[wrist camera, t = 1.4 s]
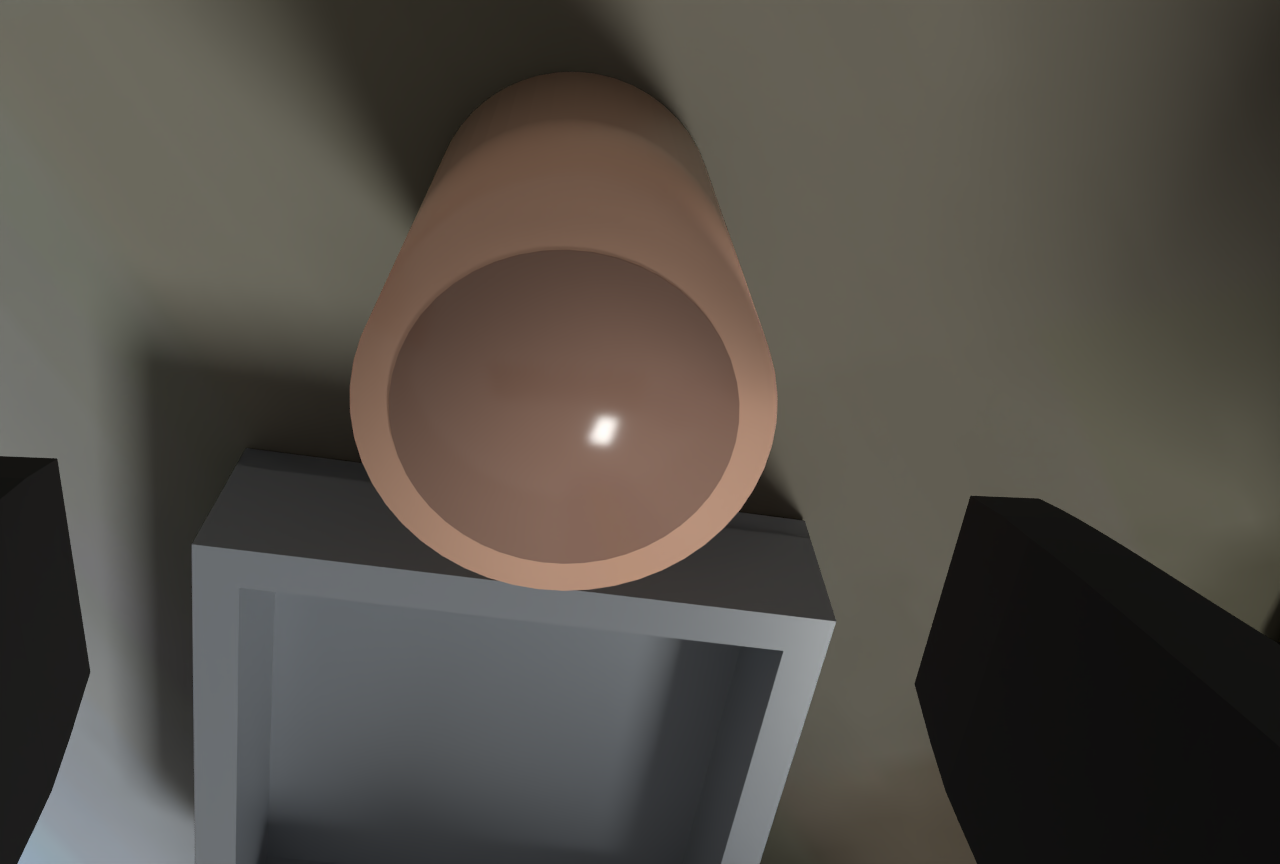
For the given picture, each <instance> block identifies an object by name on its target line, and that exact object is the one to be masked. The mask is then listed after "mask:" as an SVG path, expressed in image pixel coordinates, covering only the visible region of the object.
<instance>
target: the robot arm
mask: <svg viewBox="0 0 1280 864" xmlns="http://www.w3.org/2000/svg"><path fill="white" fill-rule="evenodd" d="M89 674H90V667H89V661H88V654H87V648H86V641H85V635H84V628H83V622H82V616H81V609H80V603H79V596H78V590H77V583H76V577H75V570H74V564H73V557H72V551H71V545H70V538H69V532H68V525H67V519H66V512H65V506H64V499H63V493H62V487H61V480H60V474H59V467H58V461H57V459H54V458H29V457H5V456H0V864H17V863H18V861H19V859H20V857H21V855H22V853H23V851H24V848H25V846H26V844H27V842H28V840H29V838H30V836H31V834H32V832H33V830H34V828H35V825H36V823H37V821H38V819H39V817H40V815H41V813H42V810H43V808H44V806H45V804H46V802H47V800H48V798H49V795H50V793H51V791H52V788H53V785H54V782H55V780H56V777H57V774H58V771H59V768H60V765H61V762H62V759H63V756H64V753H65V750H66V747H67V744H68V742H69V739H70V736H71V732H72V729H73V726H74V723H75V719H76V716H77V713H78V710H79V707H80V703H81V700H82V697H83V694H84V690H85V687H86V684H87V681H88V678H89ZM915 687H916V691H917V694H918V698H919V702H920V705H921V709H922V713H923V717H924V720H925V724H926V728H927V731H928V735H929V739H930V742H931V745H932V749H933V752H934V755H935V758H936V762H937V765H938V768H939V771H940V774H941V778H942V781H943V784H944V787H945V791H946V793H947V795H948V798H949V800H950V802H951V805H952V807H953V809H954V812H955V814H956V816H957V819H958V821H959V823H960V826H961V828H962V830H963V832H964V835H965V837H966V839H967V841H968V844H969V846H970V848H971V851H972V853H973V855H974V857H975V860H976V862H977V864H1280V644H1278V643H1276V642H1275V641H1273V640H1271V639H1270V638H1268V637H1267V636H1265V635H1263V634H1262V633H1260V632H1259V631H1257V630H1255V629H1254V628H1252V627H1251V626H1249V625H1247V624H1246V623H1244V622H1243V621H1241V620H1239V619H1238V618H1236V617H1235V616H1233V615H1231V614H1230V613H1228V612H1227V611H1225V610H1224V609H1222V608H1220V607H1219V606H1217V605H1216V604H1214V603H1212V602H1211V601H1209V600H1208V599H1206V598H1205V597H1203V596H1201V595H1200V594H1198V593H1197V592H1195V591H1194V590H1192V589H1190V588H1189V587H1187V586H1186V585H1184V584H1183V583H1181V582H1179V581H1178V580H1176V579H1175V578H1173V577H1172V576H1170V575H1168V574H1167V573H1165V572H1164V571H1162V570H1161V569H1159V568H1157V567H1156V566H1154V565H1153V564H1151V563H1150V562H1148V561H1146V560H1145V559H1143V558H1142V557H1140V556H1138V555H1137V554H1135V553H1134V552H1132V551H1130V550H1129V549H1127V548H1126V547H1124V546H1122V545H1121V544H1119V543H1118V542H1116V541H1114V540H1113V539H1111V538H1109V537H1108V536H1106V535H1104V534H1103V533H1101V532H1100V531H1098V530H1096V529H1095V528H1093V527H1091V526H1089V525H1088V524H1086V523H1084V522H1083V521H1081V520H1079V519H1077V518H1076V517H1074V516H1072V515H1070V514H1068V513H1066V512H1065V511H1063V510H1061V509H1059V508H1057V507H1055V506H1053V505H1051V504H1049V503H1047V502H1045V501H1043V500H1041V499H1035V498H1010V497H986V496H970V499H969V503H968V506H967V509H966V513H965V516H964V520H963V523H962V526H961V530H960V533H959V536H958V540H957V543H956V546H955V550H954V553H953V557H952V560H951V563H950V567H949V570H948V573H947V577H946V580H945V583H944V587H943V590H942V594H941V597H940V600H939V604H938V607H937V610H936V614H935V617H934V620H933V624H932V627H931V631H930V634H929V637H928V641H927V644H926V647H925V651H924V654H923V657H922V661H921V664H920V668H919V671H918V674H917V678H916V681H915Z"/></svg>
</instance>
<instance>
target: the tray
mask: <svg viewBox="0 0 1280 864" xmlns="http://www.w3.org/2000/svg"><path fill="white" fill-rule="evenodd" d="M192 624H193V719H194V814H195V864H760V861H761V858H762V854H763V851H764V848H765V845H766V842H767V839H768V835H769V832H770V829H771V826H772V823H773V820H774V817H775V813H776V810H777V807H778V804H779V801H780V798H781V794H782V791H783V788H784V785H785V782H786V779H787V775H788V772H789V769H790V766H791V763H792V760H793V756H794V753H795V750H796V747H797V744H798V741H799V737H800V734H801V731H802V728H803V725H804V722H805V718H806V715H807V712H808V709H809V706H810V703H811V699H812V696H813V693H814V690H815V687H816V684H817V680H818V677H819V674H820V671H821V668H822V665H823V661H824V658H825V655H826V652H827V649H828V646H829V642H830V639H831V636H832V633H833V630H834V627H835V624H836V619H835V616H834V613H833V610H832V607H831V604H830V600H829V597H828V594H827V591H826V588H825V584H824V581H823V578H822V575H821V572H820V568H819V565H818V562H817V559H816V556H815V552H814V549H813V546H812V543H811V540H810V536H809V533H808V530H807V527H806V524H805V521H803V520H795V519H788V518H780V517H772V516H765V515H757V514H749V513H741V512H738V513H737V514H736V515H735V516H734V517H733V518H732V519H731V521H730V522H729V523H728V524H727V525H726V526H725V527H724V528H723V529H722V530H721V531H720V532H719V533H718V534H717V535H715V536H714V537H713V538H712V539H711V540H710V541H709V542H707V543H706V544H705V545H704V546H702V547H701V548H699V549H698V550H696V551H695V552H694V553H692V554H691V555H689V556H688V557H686V558H685V559H683V560H681V561H679V562H677V563H675V564H673V565H671V566H670V567H668V568H666V569H664V570H662V571H659V572H657V573H654V574H651V575H649V576H646V577H644V578H641V579H638V580H635V581H631V582H627V583H623V584H619V585H616V586H610V587H603V588H597V589H590V590H569V591H559V590H544V589H534V588H529V587H523V586H517V585H512V584H508V583H505V582H501V581H498V580H494V579H491V578H487V577H485V576H483V575H480V574H478V573H475V572H473V571H471V570H468V569H466V568H463V567H462V566H460V565H458V564H456V563H454V562H453V561H451V560H449V559H447V558H445V557H443V556H442V555H440V554H439V553H437V552H436V551H435V550H433V549H432V548H430V547H429V546H428V545H426V544H425V543H423V542H422V541H421V540H420V539H418V538H417V537H416V536H415V535H414V534H413V533H412V532H411V531H410V530H409V529H408V528H406V527H405V526H404V525H403V524H402V523H401V522H400V520H399V519H398V518H397V517H396V516H395V515H394V513H393V512H392V511H391V510H390V509H389V508H388V506H387V505H386V504H385V502H384V501H383V499H382V498H381V496H380V495H379V493H378V492H377V490H376V489H375V487H374V486H373V484H372V482H371V480H370V478H369V476H368V474H367V471H366V469H365V467H364V465H363V463H357V462H349V461H342V460H334V459H326V458H319V457H311V456H303V455H295V454H288V453H280V452H272V451H265V450H257V449H249V448H246V449H245V451H244V452H243V454H242V456H241V458H240V460H239V461H238V463H237V465H236V467H235V468H234V470H233V472H232V474H231V475H230V477H229V479H228V481H227V483H226V484H225V486H224V488H223V490H222V491H221V493H220V495H219V497H218V498H217V500H216V502H215V504H214V506H213V507H212V509H211V511H210V513H209V514H208V516H207V518H206V520H205V522H204V523H203V525H202V527H201V529H200V530H199V532H198V534H197V536H196V537H195V539H194V541H193V543H192Z"/></svg>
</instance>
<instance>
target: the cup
mask: <svg viewBox="0 0 1280 864" xmlns="http://www.w3.org/2000/svg"><path fill="white" fill-rule="evenodd" d="M777 397H778V396H777V387H776V377H775V370H774V366H773V362H772V358H771V355H770V351H769V347H768V344H767V341H766V338H765V335H764V332H763V330H762V327H761V324H760V321H759V318H758V315H757V312H756V309H755V307H754V304H753V301H752V298H751V295H750V292H749V289H748V287H747V284H746V281H745V278H744V275H743V272H742V269H741V266H740V264H739V261H738V258H737V255H736V252H735V249H734V246H733V243H732V241H731V238H730V235H729V232H728V229H727V226H726V223H725V220H724V218H723V215H722V212H721V209H720V206H719V203H718V200H717V198H716V195H715V192H714V189H713V186H712V183H711V180H710V177H709V175H708V172H707V169H706V166H705V164H704V161H703V159H702V156H701V154H700V152H699V149H698V148H697V146H696V144H695V143H694V141H693V139H692V137H691V136H690V134H689V133H688V131H687V130H686V129H685V127H684V126H683V125H682V124H681V122H680V121H679V120H678V119H677V118H676V117H675V116H674V115H673V114H672V113H671V112H670V111H669V110H668V109H667V108H666V107H665V106H664V105H663V104H661V103H660V102H659V101H657V100H656V99H655V98H653V97H652V96H650V95H649V94H647V93H646V92H644V91H642V90H640V89H638V88H637V87H635V86H633V85H631V84H628V83H625V82H623V81H620V80H618V79H615V78H612V77H607V76H603V75H599V74H594V73H585V72H556V73H550V74H544V75H538V76H535V77H532V78H528V79H525V80H522V81H519V82H517V83H515V84H513V85H511V86H508V87H506V88H504V89H502V90H501V91H499V92H498V93H496V94H495V95H493V96H492V97H490V98H488V99H487V100H486V101H485V102H483V103H482V104H481V105H480V106H479V107H478V108H477V109H475V110H474V111H473V112H472V113H471V114H470V116H469V117H468V118H467V119H466V120H465V121H464V123H463V124H462V125H461V126H460V128H459V129H458V131H457V132H456V134H455V135H454V137H453V138H452V140H451V141H450V144H449V146H448V148H447V150H446V152H445V154H444V156H443V159H442V161H441V163H440V165H439V167H438V169H437V172H436V174H435V176H434V178H433V180H432V182H431V185H430V187H429V189H428V191H427V193H426V196H425V198H424V200H423V202H422V204H421V206H420V209H419V211H418V213H417V215H416V217H415V220H414V222H413V224H412V226H411V228H410V230H409V233H408V235H407V237H406V239H405V241H404V243H403V246H402V248H401V250H400V252H399V254H398V257H397V259H396V261H395V263H394V265H393V267H392V270H391V272H390V274H389V276H388V278H387V280H386V283H385V285H384V287H383V289H382V291H381V294H380V296H379V298H378V300H377V302H376V304H375V307H374V309H373V311H372V313H371V315H370V317H369V320H368V322H367V324H366V326H365V328H364V331H363V333H362V335H361V337H360V341H359V344H358V347H357V351H356V354H355V358H354V361H353V367H352V374H351V382H350V415H351V421H352V427H353V434H354V439H355V442H356V445H357V448H358V451H359V454H360V458H361V461H362V463H363V465H364V467H365V469H366V471H367V474H368V476H369V478H370V480H371V482H372V484H373V486H374V487H375V489H376V490H377V492H378V493H379V495H380V496H381V498H382V499H383V501H384V502H385V504H386V505H387V506H388V508H389V509H390V510H391V511H392V512H393V513H394V515H395V516H396V517H397V518H398V519H399V520H400V522H401V523H402V524H403V525H404V526H405V527H406V528H408V529H409V530H410V531H411V532H412V533H413V534H414V535H415V536H416V537H417V538H418V539H420V540H421V541H422V542H423V543H425V544H426V545H428V546H429V547H430V548H432V549H433V550H435V551H436V552H437V553H439V554H440V555H442V556H443V557H445V558H447V559H449V560H451V561H453V562H454V563H456V564H458V565H460V566H462V567H463V568H466V569H468V570H471V571H473V572H475V573H478V574H480V575H483V576H485V577H487V578H491V579H494V580H498V581H501V582H505V583H508V584H512V585H517V586H523V587H529V588H534V589H544V590H559V591H569V590H590V589H597V588H603V587H610V586H616V585H619V584H623V583H627V582H631V581H635V580H638V579H641V578H644V577H646V576H649V575H651V574H654V573H657V572H659V571H662V570H664V569H666V568H668V567H670V566H671V565H673V564H675V563H677V562H679V561H681V560H683V559H685V558H686V557H688V556H689V555H691V554H692V553H694V552H695V551H696V550H698V549H699V548H701V547H702V546H704V545H705V544H706V543H707V542H709V541H710V540H711V539H712V538H713V537H714V536H715V535H717V534H718V533H719V532H720V531H721V530H722V529H723V528H724V527H725V526H726V525H727V524H728V523H729V522H730V521H731V519H732V518H733V517H734V516H735V515H736V514H737V513H738V512H739V510H740V509H741V508H742V506H743V505H744V503H745V502H746V500H747V499H748V497H749V496H750V494H751V493H752V491H753V490H754V488H755V486H756V484H757V482H758V480H759V478H760V476H761V474H762V472H763V470H764V468H765V465H766V462H767V459H768V456H769V453H770V450H771V447H772V443H773V438H774V432H775V427H776V422H777Z"/></svg>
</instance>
